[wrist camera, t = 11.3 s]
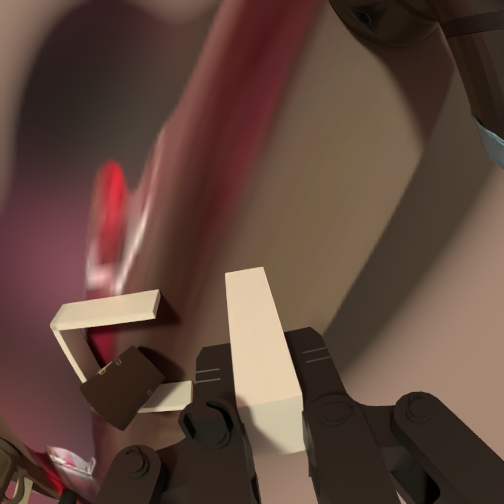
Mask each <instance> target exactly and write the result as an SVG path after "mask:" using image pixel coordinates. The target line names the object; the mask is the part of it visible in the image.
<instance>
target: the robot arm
mask: <svg viewBox="0 0 504 504" xmlns="http://www.w3.org/2000/svg"><path fill="white" fill-rule="evenodd" d="M329 1H330V3H331V5H332V7H333V8H334V10H335V11H336V13H337V14H338V15H339V16H340V18H341V19H342V20H343V21H344V22H345V23H346V24H347V25H348V26H349V27H350V28H352V29H353V30H354V31H355V32H357V33H358V34H360V35H361V36H363V37H364V38H366V39H368V40H370V41H372V42H375V43H378V44H381V45H384V46H390V47H403V46H408V45H412V44H416V43H419V42H421V41H423V40H425V39H426V38H427V37H429V36H430V35H431V34H432V32H433V31H434V30H435V29H436V28H437V27H438V26H439V25H440V26H441V28H442V31H443V33H444V35H445V38H446V40H447V43H448V45H449V47H450V50H451V52H452V55H453V57H454V60H455V62H456V65H457V67H458V70H459V73H460V75H461V78H462V81H463V84H464V87H465V90H466V93H467V96H468V99H469V103H470V106H471V109H470V110H471V115H472V118H473V120H474V122H475V123H476V126H477V129H478V132H479V136H480V139H481V143H482V146H483V148H484V150H485V152H486V154H487V155H488V156H489V158H490V159H492V160H493V161H494V162H495V163H497V164H498V166H500V167H501V168H502V169H504V0H329ZM225 279H226V292H227V305H228V317H229V329H230V340H231V343H227V344H221V345H215V346H208V347H203V348H202V350H201V352H200V353H199V355H198V357H197V359H196V385H195V400H194V401H193V402H191V403H190V404H188V405H186V407H185V408H184V409H183V410H182V411H181V413H180V415H179V419H178V423H179V425H180V427H181V428H182V430H183V432H184V434H185V436H186V438H184V439H183V440H182V441H180V442H178V443H176V444H174V445H171V446H169V447H166V448H163V449H160V450H157V451H154V450H153V449H152V448H150V447H148V446H145V445H132V446H129V447H126V448H124V449H123V450H121V451H120V452H119V453H118V454H117V455H116V457H115V458H114V459H113V461H112V463H111V466H110V468H109V470H108V472H107V475H106V477H105V479H104V482H103V484H102V486H101V489H100V491H99V493H98V495H97V498H96V500H95V502H94V504H261V497H260V492H259V485H258V478H257V474H256V472H255V467H254V460H255V459H262V458H268V457H274V456H279V455H285V454H289V453H295V452H299V451H304V450H305V448H306V452H307V456H308V461H309V477H311V478H312V482H313V486H314V490H315V493H316V497H317V501H318V504H401V502H400V500H399V497H398V495H397V492H398V493H399V495H400V496H401V497H402V498H403V499H404V501H405V502H406V503H407V504H504V461H503V460H502V459H501V458H500V457H499V456H498V455H497V454H496V453H495V452H494V451H493V450H492V449H491V448H490V447H488V446H487V445H486V444H485V443H484V442H483V441H482V440H481V439H480V438H479V437H478V436H477V435H476V434H475V433H474V432H473V431H472V430H471V429H470V428H469V427H468V426H466V425H465V424H464V423H463V422H462V421H461V420H460V419H459V418H458V417H457V416H456V415H455V414H454V413H453V412H452V411H450V410H449V409H448V408H447V407H446V406H445V405H444V404H443V403H442V402H441V401H440V400H439V399H438V398H436V397H434V396H433V395H431V394H429V393H425V392H411V393H408V394H406V395H404V396H402V397H401V398H400V399H399V400H398V401H397V402H396V405H392V406H367V405H363V404H360V403H358V402H356V401H354V400H353V399H352V398H350V396H348V394H347V393H346V391H345V388H344V386H343V384H342V381H341V379H340V377H339V375H338V372H337V370H336V368H335V366H334V363H333V361H332V359H331V358H330V354H329V353H328V350H327V349H326V346H325V343H324V341H323V339H322V337H321V335H320V334H319V333H318V332H316V331H315V330H314V329H312V328H311V327H307V328H302V329H298V330H293V331H288V332H283V330H282V327H281V324H280V320H279V317H278V314H277V311H276V308H275V304H274V301H273V298H272V295H271V291H270V288H269V285H268V282H267V278H266V275H265V272H264V269H263V267H258V268H253V269H247V270H241V271H236V272H230V273H225ZM253 459H254V460H253ZM396 491H397V492H396Z"/></svg>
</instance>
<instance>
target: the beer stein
mask: <svg viewBox="0 0 504 504" xmlns="http://www.w3.org/2000/svg"><path fill="white" fill-rule="evenodd" d="M20 459H21V457H20V454H19V453H18V452H17V451H16V449H15V448H13V447H12V446H11V445H10V444H8V443H7V442H6V441H4V440H3V439H1V438H0V504H1V503H2V501H3V502H5V503H6V504H19V503H20V501H21V500H22V499H23V497H24V493H25V483H24V477H25V475H27V474H28V470H27V469H24V468H21V467H20V466H19V465H18V461H19V460H20ZM15 471H17V472H18V475H19V480H18V489H17V493H16V495H15V497H14V498H13V499H8V498H7V497H6V496H5V492H6V490H7V487H8V485H9V483H10V481H11V478H12V476H13V474H14V472H15Z"/></svg>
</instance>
